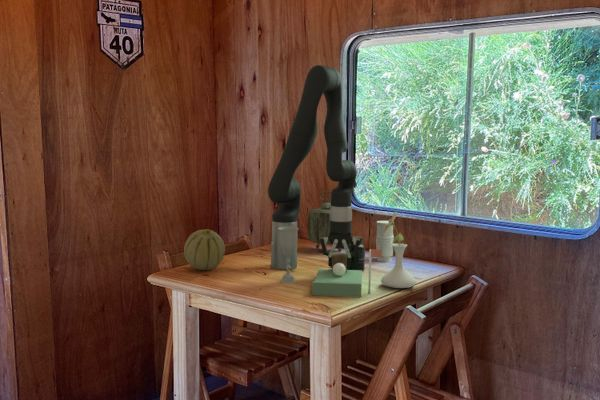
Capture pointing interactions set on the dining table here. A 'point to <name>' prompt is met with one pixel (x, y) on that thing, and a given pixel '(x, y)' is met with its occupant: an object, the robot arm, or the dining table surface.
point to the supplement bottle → (359, 259)
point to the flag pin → (371, 254)
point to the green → (337, 283)
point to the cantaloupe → (204, 249)
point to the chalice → (288, 249)
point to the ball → (339, 269)
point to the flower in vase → (397, 264)
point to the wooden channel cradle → (339, 259)
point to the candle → (384, 241)
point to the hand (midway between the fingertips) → (339, 267)
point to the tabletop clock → (320, 222)
